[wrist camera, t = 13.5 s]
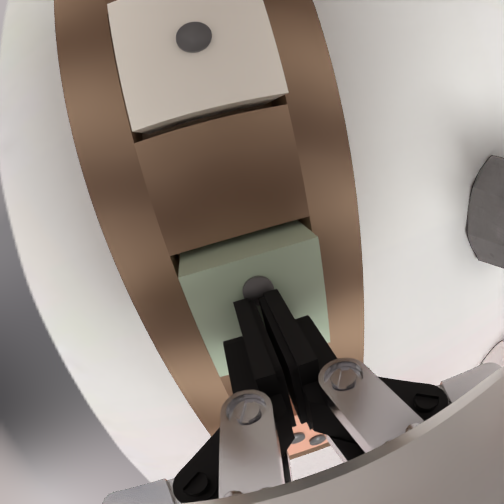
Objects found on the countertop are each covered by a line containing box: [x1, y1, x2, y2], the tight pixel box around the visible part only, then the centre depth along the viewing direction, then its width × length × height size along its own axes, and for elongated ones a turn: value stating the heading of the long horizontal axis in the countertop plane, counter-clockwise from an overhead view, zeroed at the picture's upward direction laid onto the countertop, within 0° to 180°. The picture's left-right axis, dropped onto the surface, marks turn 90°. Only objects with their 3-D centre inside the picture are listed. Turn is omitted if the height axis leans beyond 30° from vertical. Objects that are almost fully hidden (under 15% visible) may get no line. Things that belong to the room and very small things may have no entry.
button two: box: [178, 220, 330, 377], centre depth 12 cm, size 5×5×3 cm
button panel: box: [54, 0, 364, 460], centre depth 14 cm, size 32×10×3 cm, turn 13°
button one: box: [107, 0, 289, 134], centre depth 8 cm, size 5×5×3 cm
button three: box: [287, 396, 328, 456], centre depth 16 cm, size 5×5×3 cm
